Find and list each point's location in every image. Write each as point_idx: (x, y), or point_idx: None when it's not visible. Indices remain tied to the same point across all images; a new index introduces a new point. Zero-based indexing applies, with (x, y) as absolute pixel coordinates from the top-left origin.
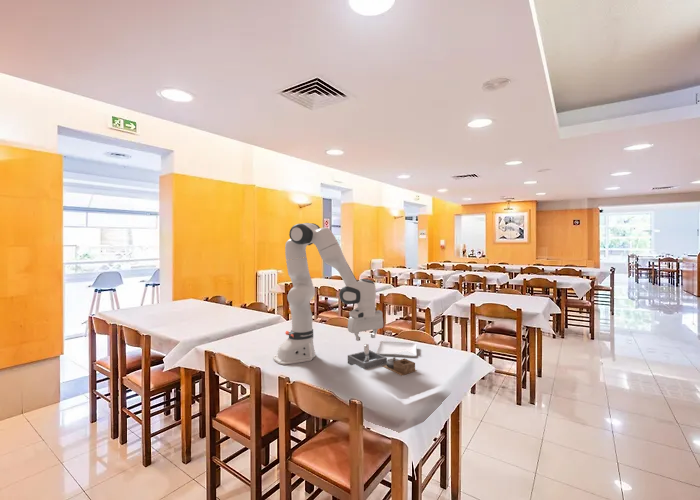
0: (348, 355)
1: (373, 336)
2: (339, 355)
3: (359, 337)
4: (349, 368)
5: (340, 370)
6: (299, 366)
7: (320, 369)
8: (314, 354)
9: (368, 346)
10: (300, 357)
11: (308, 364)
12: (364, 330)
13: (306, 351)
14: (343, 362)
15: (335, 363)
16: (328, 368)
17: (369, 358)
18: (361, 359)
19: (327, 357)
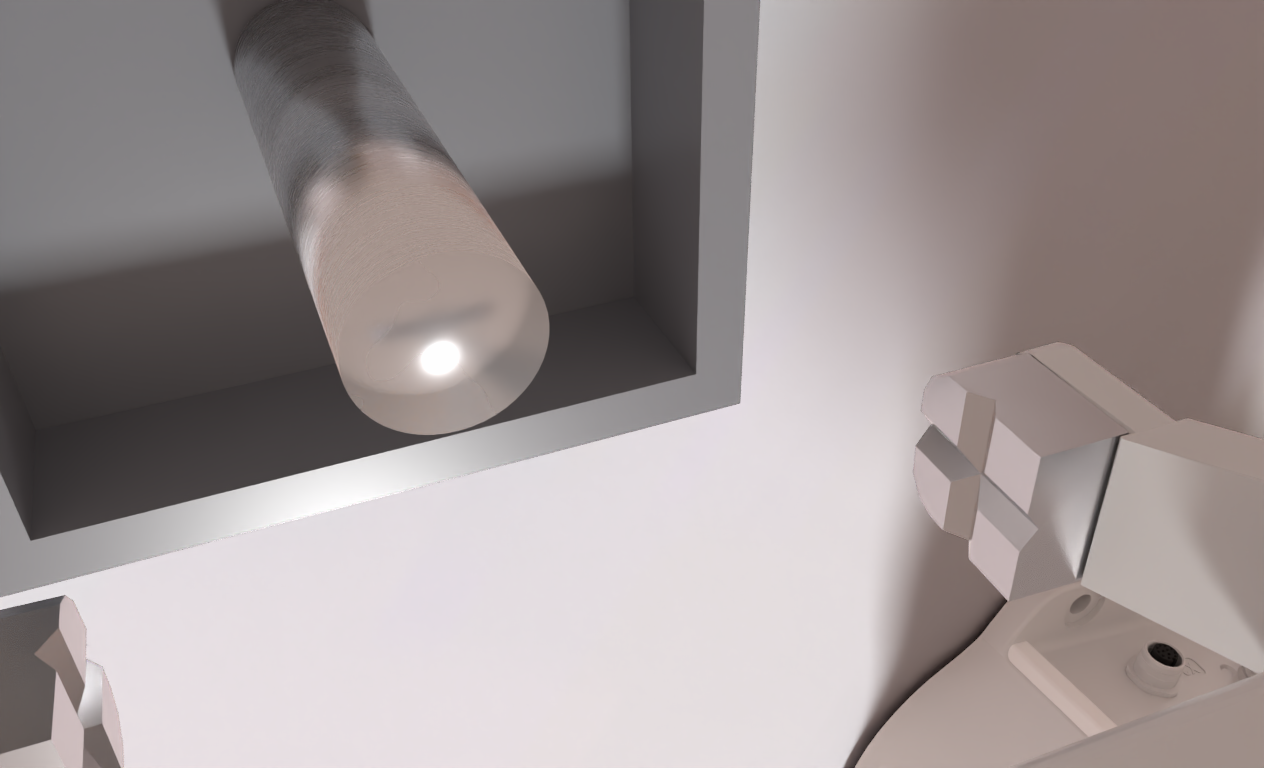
0: (729, 389)
1: (19, 662)
2: (574, 686)
3: (1095, 435)
4: (801, 16)
5: (996, 6)
6: (1254, 426)
7: (1173, 214)
8: (933, 718)
9: (378, 245)
10: (1155, 630)
11: None
12: (1189, 747)
13: (1140, 706)
14: None
15: (846, 371)
16: (1070, 201)
17: (78, 329)
18: None
19: (786, 640)
